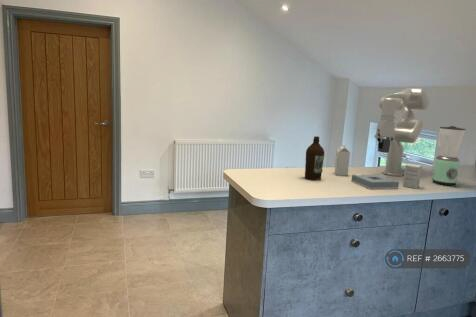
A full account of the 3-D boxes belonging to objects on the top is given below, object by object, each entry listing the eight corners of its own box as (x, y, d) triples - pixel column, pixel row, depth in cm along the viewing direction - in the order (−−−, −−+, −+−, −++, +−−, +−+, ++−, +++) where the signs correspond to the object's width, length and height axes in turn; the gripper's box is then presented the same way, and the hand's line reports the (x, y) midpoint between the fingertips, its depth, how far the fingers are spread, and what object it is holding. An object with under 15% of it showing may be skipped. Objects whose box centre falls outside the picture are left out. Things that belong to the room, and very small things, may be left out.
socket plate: (377, 181, 218) (378, 173, 217) (398, 188, 201) (399, 180, 200) (351, 181, 213) (352, 173, 212) (370, 189, 196) (371, 181, 195)
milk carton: (345, 173, 234) (348, 144, 231) (347, 176, 227) (350, 146, 224) (334, 173, 235) (337, 144, 231) (336, 175, 228) (339, 145, 224)
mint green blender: (463, 187, 213) (473, 128, 207) (441, 186, 212) (451, 127, 206) (443, 180, 232) (451, 125, 226) (423, 179, 231) (431, 124, 225)
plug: (383, 151, 225) (385, 138, 224) (388, 152, 221) (390, 139, 219) (377, 151, 224) (379, 138, 222) (382, 152, 220) (384, 139, 218)
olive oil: (299, 177, 216) (303, 135, 212) (312, 175, 222) (316, 135, 218) (312, 181, 207) (316, 137, 203) (325, 179, 213) (329, 137, 209)
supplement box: (405, 184, 213) (408, 163, 211) (419, 187, 208) (422, 165, 206) (402, 186, 207) (405, 164, 205) (416, 189, 203) (419, 167, 201)
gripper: (394, 118, 225) (391, 147, 228) (371, 117, 220) (367, 147, 223) (403, 119, 218) (399, 149, 221) (379, 118, 213) (375, 149, 216)
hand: (383, 148), depth 222 cm, fingers closed on plug, 4 cm apart
